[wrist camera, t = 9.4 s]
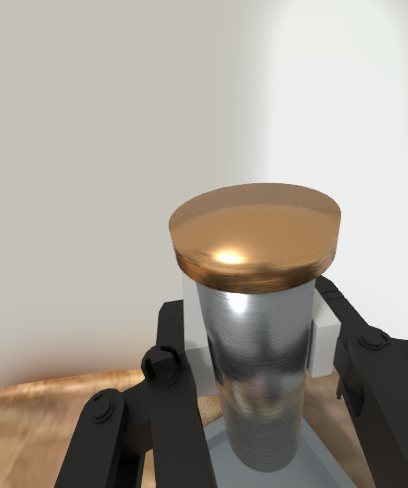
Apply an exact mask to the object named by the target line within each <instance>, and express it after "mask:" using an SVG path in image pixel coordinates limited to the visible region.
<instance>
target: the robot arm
mask: <svg viewBox="0 0 408 488" xmlns="http://www.w3.org/2000/svg"><path fill="white" fill-rule="evenodd" d="M183 298H184V299H183V300H178V301H171V302H165V303H164V304H163V306H162V307H161V309H160V311H159V317H158V328H157V330H158V331H157V340H156V345H155V346H153V347H152V348H151V349H150V350H148V351H147V352H146V354H145V355H144V357H143V359H142V363H141V369H142V371H143V374H144V376H145V379H144V380H143V381H142V382H140V383H139V384H137V385H135V386H133V387H131V388H129V389H128V390H126V391H124V392H122V393H121V392H120V391H118V390H117V389H111V388H108V389H105V390H101V391H100V392H98V393H97V394H95V395H93V396H92V397H91V398H90V400H89V401H88V402H87V403H86V404H85V406H84V408H83V410H82V412H81V414H80V417H79V420H78V423H77V425H76V428H75V431H74V434H73V436H72V439H71V442H70V445H69V447H68V450H67V453H66V456H65V458H64V461H63V464H62V467H61V469H60V472H59V475H58V478H57V480H56V483H55V486H54V488H141V482H142V475H143V468H144V461H145V453H146V452H147V451H149V450H151V449H152V448H153V456H154V468H155V481H156V488H218V486H217V482H216V478H215V473H214V469H213V465H212V461H211V457H210V453H209V449H208V445H207V441H206V437H205V432H204V428H203V424H202V420H201V416H200V412H199V408H198V404H197V396H198V398H199V397H205V396H210V395H216V394H218V390H217V382H216V376H215V371H214V366H213V362H212V357H211V352H210V347H209V342H208V337H207V332H206V329H205V325H204V321H203V316H202V311H201V306H200V301H199V296H198V291H197V286H196V282H195V281H194V280H192V279H190V278H189V277H188V276H187V275H186V274H185V273H184V272H183ZM333 366H335V368H336V370H337V372H338V373H339V375H340V378H339V383H338V387H337V392H336V394H337V399H341V395H343V397H344V400H345V403H346V406H347V408H348V411H349V414H350V417H351V419H352V422H353V425H354V427H355V430H356V433H357V436H358V438H359V441H360V444H361V447H362V449H363V452H364V455H365V457H366V460H367V463H368V466H369V468H370V471H371V474H372V477H373V479H374V482H375V485H376V488H408V340H402V339H395V338H391V337H390V336H389V335H388V334H387V333H385V332H383V331H382V330H380V329H378V328H375V327H372V326H369V325H368V324H367V323H366V322H365V321H364V319H363V318H362V317H361V316H360V315H359V313H358V312H357V311H356V310H355V309H354V307H353V306H352V305H351V304H350V303H349V301H348V300H347V299H346V298H345V297H344V295H342V293H341V292H340V291H339V290H338V288H337V287H336V286H335V285H334V284H333V282H332V281H330V280H328V279H327V278H325V277H323V276H322V275H320V276H318V277H317V278H316V280H315V290H314V300H313V310H312V320H311V330H310V340H309V350H308V360H307V369H308V371H309V373H310V375H311V377H312V378H315V377H321V376H326V375H332V371H333Z"/></svg>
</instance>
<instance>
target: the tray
mask: <svg viewBox="0 0 408 488" xmlns="http://www.w3.org/2000/svg"><path fill="white" fill-rule="evenodd" d="M204 432H205V437H206V441H207V445H208V449H209V453H210V457H211V461H212V465H213V469H214V473H215V478H216V482H217V486H218V488H357V486H356V485H355V484H354V483H353V481H352V480H351V479H350V477H349V476H348V475H347V473H346V472H345V471H344V470H343V468H342V467H341V466H340V464H339V463H338V462H337V460H336V459H335V458H334V456H333V455H332V454H331V453H330V451H329V450H328V449H327V447H326V446H325V445H324V443H323V442H322V441H321V440H320V438H319V437H318V436H317V434H316V433H315V432H314V430H313V429H312V428H311V427H310V425H309V424H308V423H307V421H306V420H305V419H304V417H303V416H302V419H301V429H300V439H299V446H298V450H297V453H296V455H295V457H294V459H293V460H292V461H291V463H290V464H289V465H287V466H286V467H285V468H283V469H282V470H279V471H277V472H272V473H264V472H259V471H255V470H253V469H251V468H249V467H248V466H246V465H245V464H244V463H242V462H241V461H240V460H239V459H238V457H237V456H236V455H235V453H234V452H233V450H232V448H231V446H230V444H229V441H228V437H227V433H226V428H225V423H224V418H223V416H222V417H221V418H219V419H217V420H216V421H214V422H212V423H211V424H209V425H207V426H206V427H204Z"/></svg>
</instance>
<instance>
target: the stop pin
mask: <svg viewBox="0 0 408 488" xmlns="http://www.w3.org/2000/svg"><path fill="white" fill-rule="evenodd" d="M340 220H341V211H340V208H339V206H338V205H337V203H336V202H335V201H334V200H333V199H332V198H330V197H329V196H327V195H326V194H323V193H321V192H319V191H316V190H314V189H310V188H307V187H303V186H298V185H291V184H282V183H253V184H243V185H236V186H230V187H225V188H221V189H217V190H213V191H210V192H207V193H204V194H202V195H199V196H197V197H195V198H193V199H191V200H189V201H187V202H186V203H184V204H183V205H181V206H180V207H179V208H178V209H176V211H175V212H174V213H173V214H172V216H171V218H170V220H169V230H170V234H171V238H172V242H173V246H174V251H175V254H176V259H177V262H178V265H179V267H180V269H181V270H182V271H183V272H184V273H185V274H186V275H187V276H188V277H189V278H190V279H192V280H194V281H195V282H196V286H197V291H198V296H199V301H200V306H201V311H202V316H203V321H204V325H205V329H206V332H207V337H208V342H209V347H210V352H211V357H212V362H213V366H214V371H215V376H216V382H217V389H218V394H219V399H220V403H221V408H222V413H223V418H224V423H225V428H226V433H227V437H228V441H229V444H230V446H231V448H232V450H233V452H234V453H235V455H236V456H237V457H238V459H239V460H240V461H241V462H242V463H244V464H245V465H246V466H248V467H249V468H251V469H253V470H255V471H259V472H264V473H272V472H277V471H279V470H282V469H283V468H285V467H286V466H287V465H289V464H290V463H291V461H292V460H293V459H294V457H295V455H296V453H297V450H298V446H299V439H300V429H301V419H302V409H303V399H304V389H305V380H306V370H307V360H308V350H309V340H310V330H311V320H312V310H313V300H314V290H315V280H316V278H317V277H318V276H320V275H321V274H322V273H324V272H325V271H326V269H327V268H328V267H329V266H330V265H331V263H332V262H333V260H334V257H335V254H336V247H337V241H338V234H339V227H340Z"/></svg>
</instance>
